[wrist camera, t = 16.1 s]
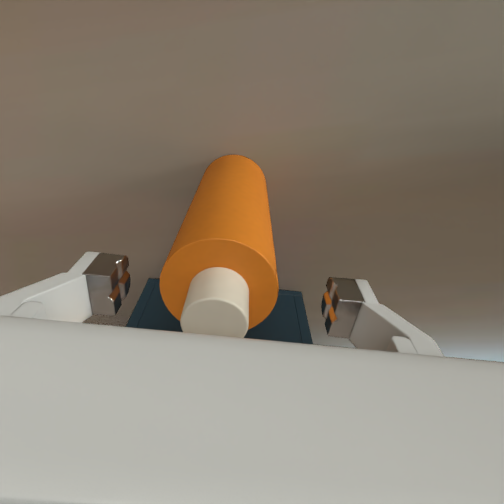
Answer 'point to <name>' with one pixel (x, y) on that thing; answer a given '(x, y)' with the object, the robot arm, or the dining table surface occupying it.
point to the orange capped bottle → (223, 254)
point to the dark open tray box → (271, 328)
